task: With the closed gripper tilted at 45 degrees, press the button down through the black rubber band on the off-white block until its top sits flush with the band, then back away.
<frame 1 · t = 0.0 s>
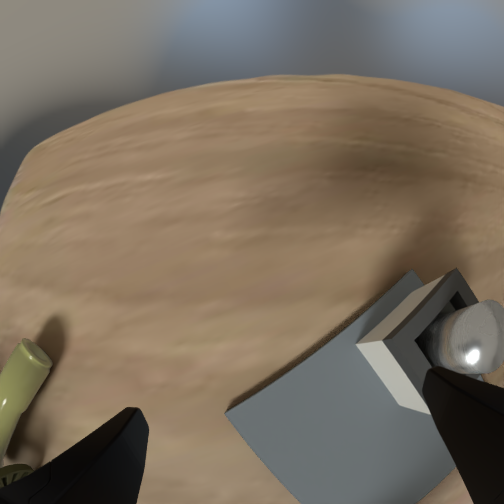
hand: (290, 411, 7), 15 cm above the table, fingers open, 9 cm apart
housing: (402, 348, 21), resting on mat
button: (460, 341, 13), point 9 cm above the table, slide at 3.5 cm
cannon: (19, 426, 19), on the table
mat: (389, 426, 19), on the table
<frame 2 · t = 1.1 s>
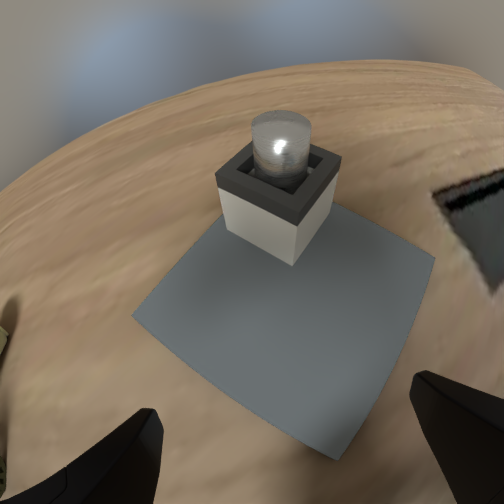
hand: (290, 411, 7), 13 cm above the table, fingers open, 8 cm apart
housing: (279, 226, 27), resting on mat
button: (281, 157, 20), point 8 cm above the table, slide at 3.5 cm
mat: (297, 293, 24), on the table
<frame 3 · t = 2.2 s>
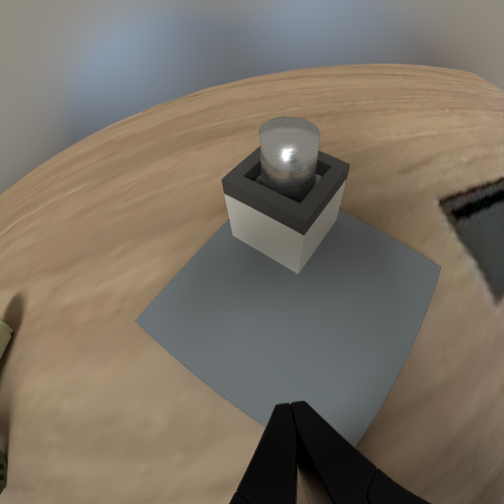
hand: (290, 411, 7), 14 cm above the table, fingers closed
housing: (285, 233, 27), resting on mat
button: (288, 165, 20), point 9 cm above the table, slide at 3.5 cm
mat: (302, 302, 23), on the table
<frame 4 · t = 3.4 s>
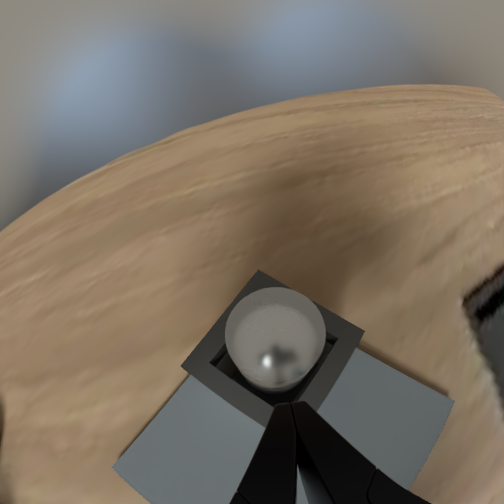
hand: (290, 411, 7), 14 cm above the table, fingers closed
housing: (274, 374, 20), resting on mat
button: (274, 350, 13), point 9 cm above the table, slide at 3.5 cm
mat: (290, 459, 17), on the table
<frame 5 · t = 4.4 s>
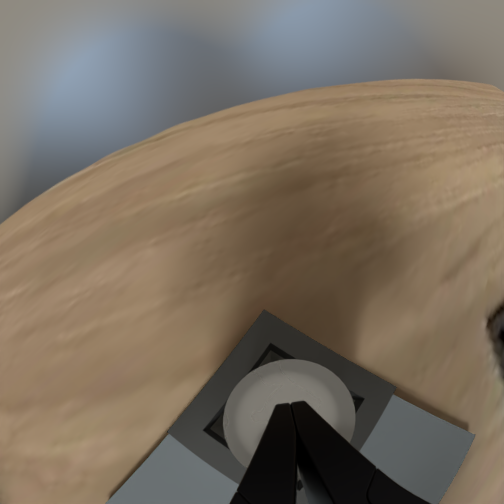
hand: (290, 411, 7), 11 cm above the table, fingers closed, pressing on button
housing: (279, 416, 17), resting on mat
button: (285, 419, 10), point 8 cm above the table, slide at 3.1 cm, touching gripper
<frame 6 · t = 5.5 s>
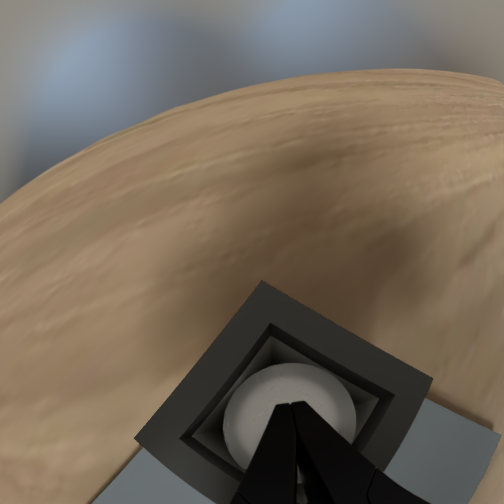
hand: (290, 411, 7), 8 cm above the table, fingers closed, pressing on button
housing: (281, 420, 14), resting on mat
button: (286, 422, 10), point 5 cm above the table, slide at -0.1 cm, touching gripper
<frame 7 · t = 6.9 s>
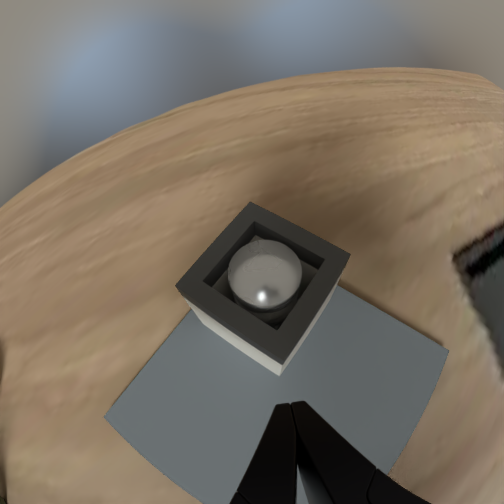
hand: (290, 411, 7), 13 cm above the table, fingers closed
housing: (267, 317, 22), resting on mat
button: (265, 292, 18), point 5 cm above the table, slide at -0.1 cm
mat: (284, 404, 18), on the table
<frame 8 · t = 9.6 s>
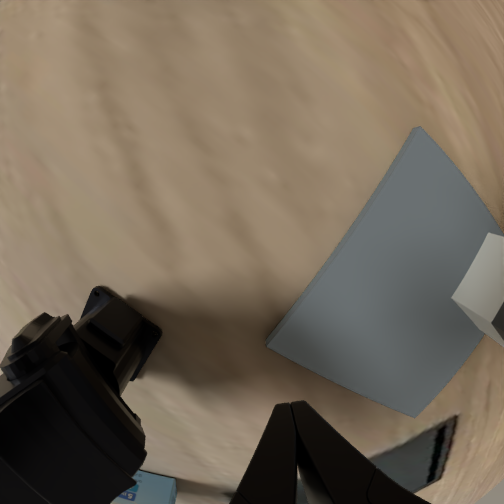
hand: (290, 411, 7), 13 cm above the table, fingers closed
housing: (479, 281, 20), resting on mat
gum box: (107, 466, 26), on the table
mat: (427, 299, 21), on the table
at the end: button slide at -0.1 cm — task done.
